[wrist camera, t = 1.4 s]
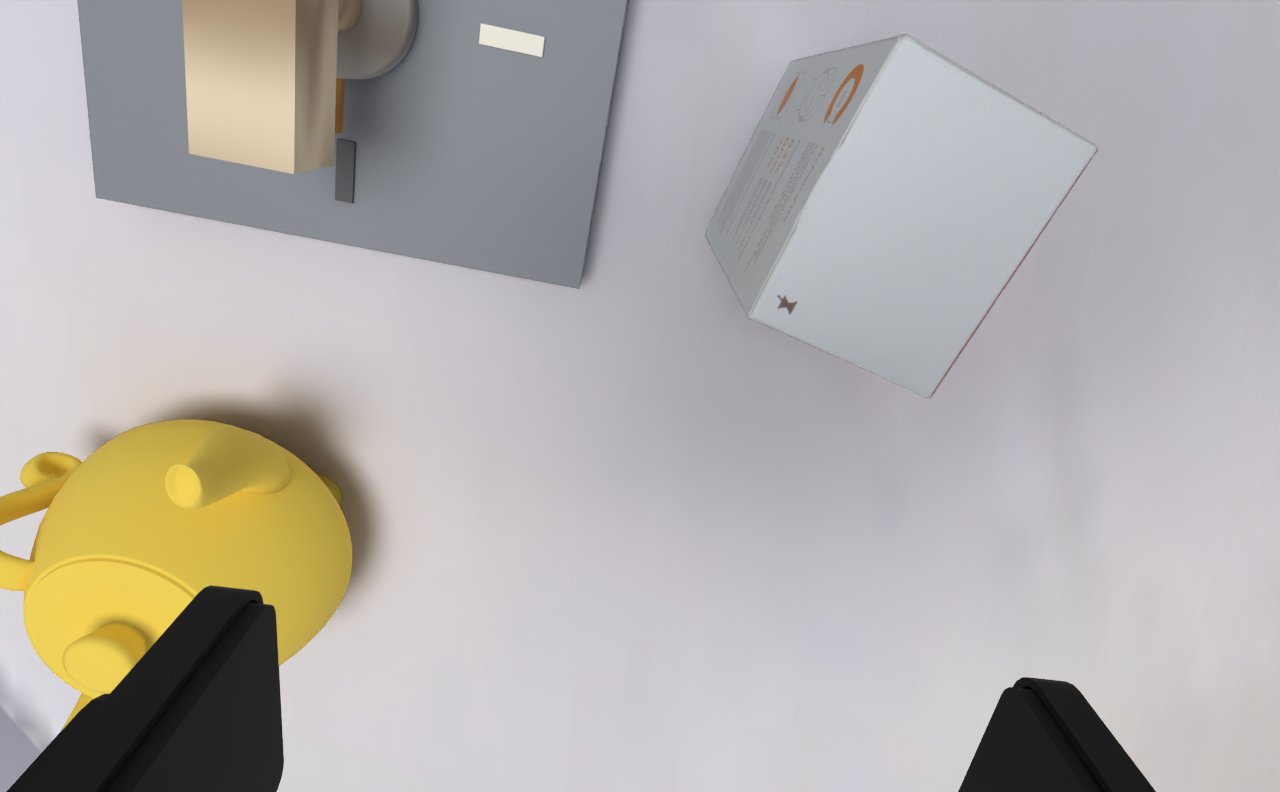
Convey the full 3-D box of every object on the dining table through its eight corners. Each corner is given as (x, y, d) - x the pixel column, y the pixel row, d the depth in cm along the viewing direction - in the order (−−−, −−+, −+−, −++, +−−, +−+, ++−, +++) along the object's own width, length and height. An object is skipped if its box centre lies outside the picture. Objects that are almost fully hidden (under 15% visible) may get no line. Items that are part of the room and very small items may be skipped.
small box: (823, 294, 33) (929, 408, 21) (701, 235, 32) (739, 319, 20) (921, 125, 30) (1109, 145, 18) (791, 54, 29) (898, 26, 17)
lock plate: (86, -345, 24) (36, -385, 22) (662, -204, 26) (664, -230, 24) (128, 191, 31) (92, 198, 29) (582, 277, 33) (578, 289, 31)
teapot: (154, 261, 32) (-79, 341, 22) (448, 423, 36) (369, 562, 25) (31, 568, 39) (-195, 745, 28) (290, 683, 42) (174, 881, 32)
